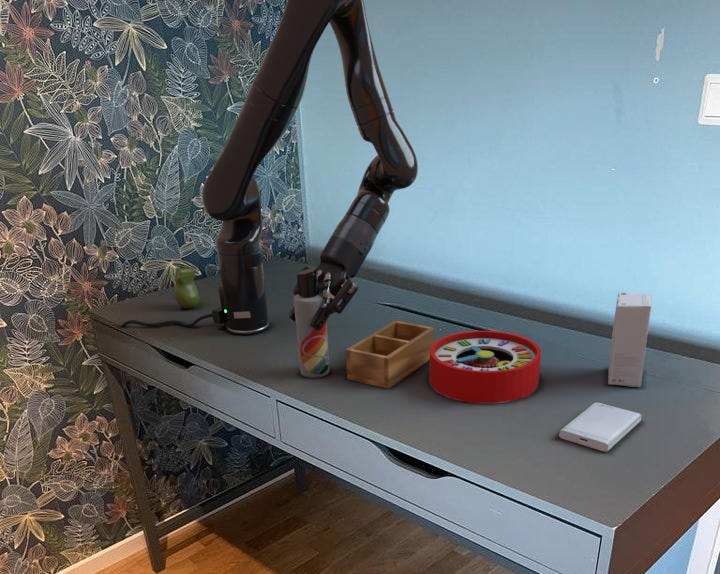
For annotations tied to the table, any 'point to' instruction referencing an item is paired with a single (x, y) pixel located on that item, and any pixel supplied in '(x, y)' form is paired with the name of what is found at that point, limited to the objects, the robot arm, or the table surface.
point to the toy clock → (484, 366)
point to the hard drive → (600, 426)
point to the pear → (186, 288)
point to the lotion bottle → (308, 338)
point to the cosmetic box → (629, 339)
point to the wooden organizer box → (390, 354)
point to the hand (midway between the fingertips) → (303, 324)
